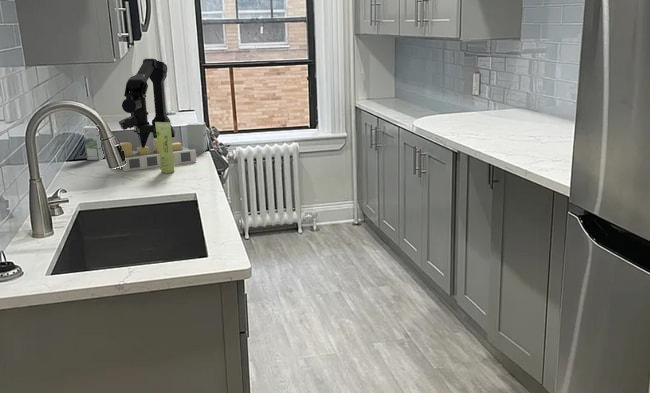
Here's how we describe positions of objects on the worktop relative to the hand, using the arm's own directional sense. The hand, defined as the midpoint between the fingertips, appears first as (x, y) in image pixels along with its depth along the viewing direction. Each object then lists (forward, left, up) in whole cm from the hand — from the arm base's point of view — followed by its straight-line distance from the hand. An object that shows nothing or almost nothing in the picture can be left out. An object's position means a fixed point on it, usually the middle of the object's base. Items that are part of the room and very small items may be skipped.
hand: (143, 147), depth 254 cm
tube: (+23, +2, -7) cm, 24 cm away
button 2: (0, +7, -4) cm, 8 cm away
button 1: (0, +14, -6) cm, 15 cm away
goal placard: (+11, +3, -6) cm, 13 cm away
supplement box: (-11, +27, -7) cm, 30 cm away
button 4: (0, -7, -4) cm, 8 cm away
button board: (0, +3, -6) cm, 7 cm away
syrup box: (-20, -16, -7) cm, 26 cm away
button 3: (0, 0, -6) cm, 6 cm away
